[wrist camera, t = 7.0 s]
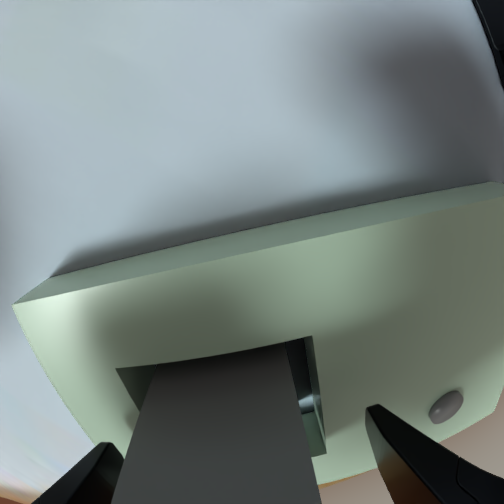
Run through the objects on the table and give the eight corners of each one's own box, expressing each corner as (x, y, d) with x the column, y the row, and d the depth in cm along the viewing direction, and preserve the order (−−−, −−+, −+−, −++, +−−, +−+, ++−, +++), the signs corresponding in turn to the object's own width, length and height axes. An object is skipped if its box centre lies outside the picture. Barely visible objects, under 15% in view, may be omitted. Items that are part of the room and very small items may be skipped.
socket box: (492, 181, 9) (540, 190, 7) (471, 385, 12) (496, 414, 10) (48, 278, 10) (6, 308, 7) (151, 462, 13) (142, 502, 10)
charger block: (278, 320, 11) (325, 519, 3) (296, 401, 12) (330, 560, 5) (165, 341, 11) (105, 523, 4) (200, 417, 12) (184, 571, 5)
